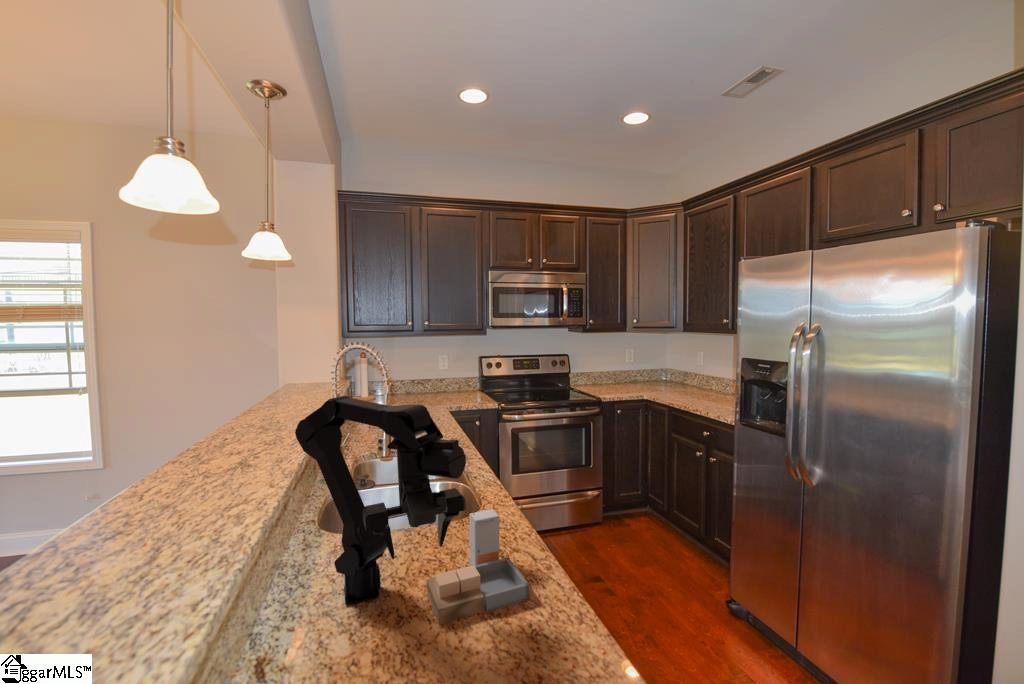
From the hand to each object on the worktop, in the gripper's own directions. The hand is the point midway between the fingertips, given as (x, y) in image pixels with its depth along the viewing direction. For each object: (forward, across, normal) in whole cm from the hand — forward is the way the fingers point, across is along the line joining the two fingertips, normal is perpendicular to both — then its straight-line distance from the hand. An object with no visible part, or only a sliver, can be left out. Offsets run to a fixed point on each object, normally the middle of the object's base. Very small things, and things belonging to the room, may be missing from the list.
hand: (417, 551), depth 83 cm
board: (+12, +7, 0) cm, 14 cm away
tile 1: (+9, +6, 0) cm, 11 cm away
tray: (+12, +16, 0) cm, 20 cm away
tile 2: (+9, +10, 0) cm, 14 cm away
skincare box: (+12, +17, +10) cm, 23 cm away
